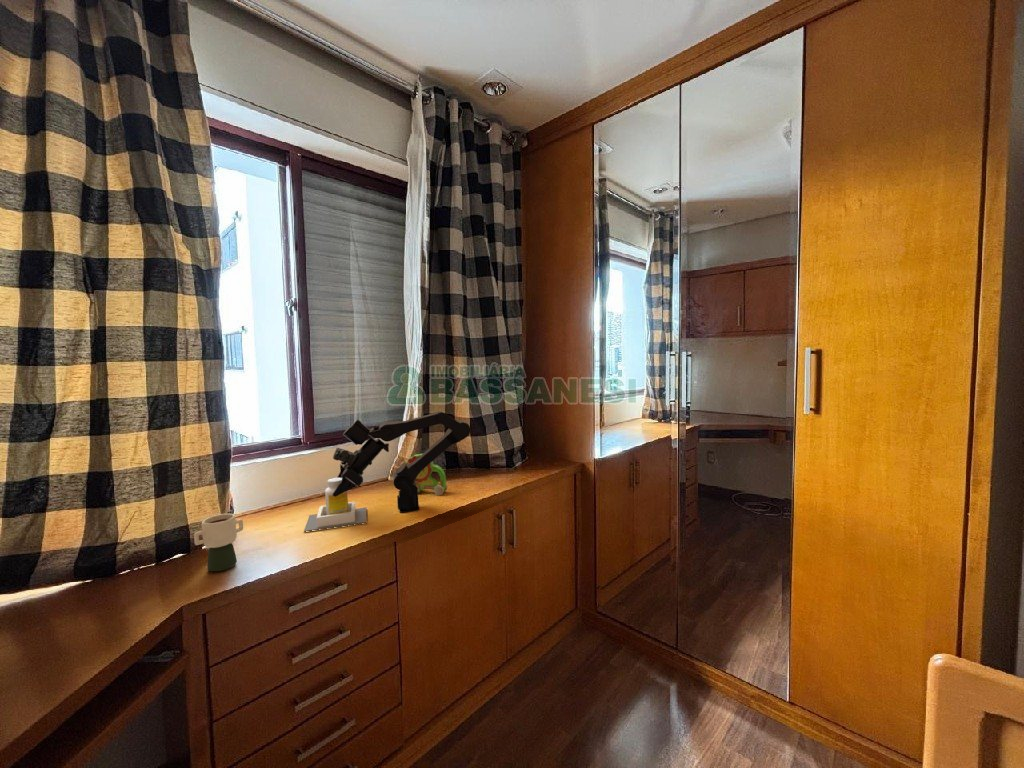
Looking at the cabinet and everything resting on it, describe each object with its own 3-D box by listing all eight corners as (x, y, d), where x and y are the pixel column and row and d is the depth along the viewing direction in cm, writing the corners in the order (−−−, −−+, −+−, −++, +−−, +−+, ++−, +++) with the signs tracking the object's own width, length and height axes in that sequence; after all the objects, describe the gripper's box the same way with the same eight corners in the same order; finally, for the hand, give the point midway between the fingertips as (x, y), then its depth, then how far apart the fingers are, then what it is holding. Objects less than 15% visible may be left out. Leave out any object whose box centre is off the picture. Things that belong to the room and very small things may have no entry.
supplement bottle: (352, 517, 139) (350, 478, 138) (332, 523, 134) (330, 483, 134) (342, 512, 144) (340, 475, 143) (323, 518, 139) (320, 480, 138)
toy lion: (448, 491, 165) (446, 453, 164) (442, 496, 160) (441, 456, 159) (410, 489, 169) (409, 452, 168) (404, 494, 163) (402, 455, 162)
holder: (366, 508, 149) (365, 498, 148) (366, 523, 135) (365, 512, 135) (309, 516, 143) (309, 506, 143) (304, 532, 130) (303, 521, 129)
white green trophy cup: (239, 555, 115) (236, 509, 115) (251, 562, 111) (248, 514, 110) (191, 573, 107) (187, 522, 106) (203, 581, 102) (198, 528, 102)
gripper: (346, 434, 148) (313, 470, 144) (349, 444, 131) (312, 484, 127) (371, 453, 151) (339, 489, 148) (377, 465, 134) (342, 506, 131)
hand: (333, 491), depth 138 cm, fingers open, 9 cm apart
